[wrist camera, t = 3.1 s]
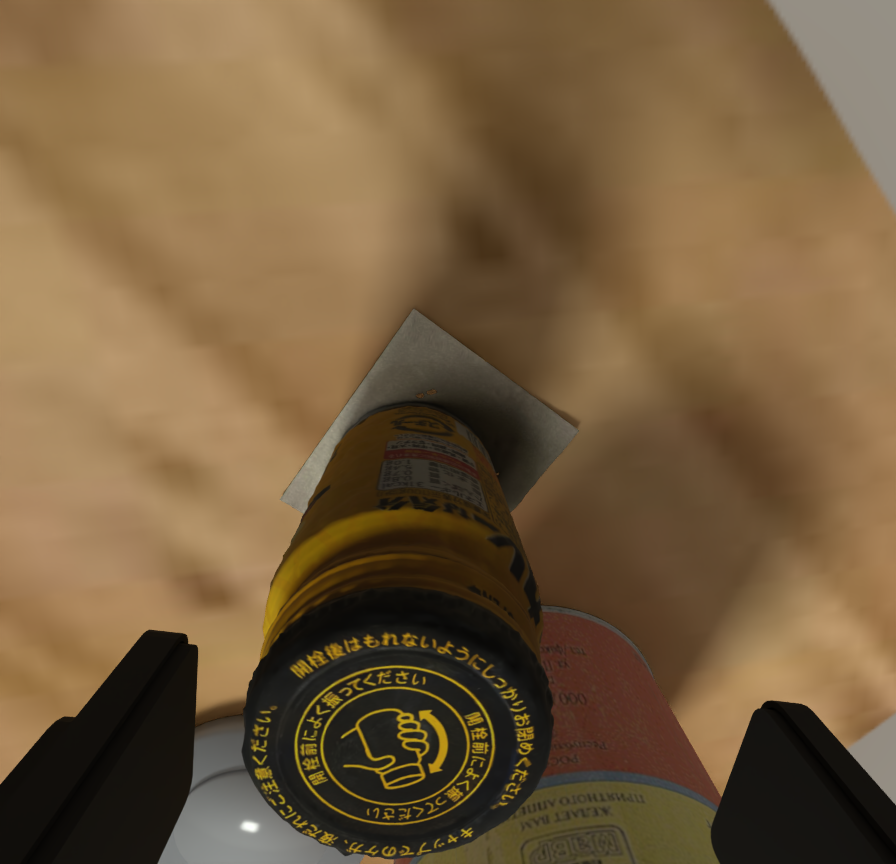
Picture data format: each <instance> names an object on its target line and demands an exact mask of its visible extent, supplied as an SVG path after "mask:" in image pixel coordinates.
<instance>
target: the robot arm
mask: <svg viewBox="0 0 896 864" xmlns="http://www.w3.org/2000/svg"><path fill="white" fill-rule="evenodd" d="M197 667H198V647H197V645H192V644H188V638H187V635H186V634H183V633H174V632H165V631H157V630H148V631H146V632H145V633H144V634H143V635H142V636H141V637H140V638H139V639H138V641H137V642H136V643H135V644H134V646H133V647H132V648H131V649H130V651H129V652H128V653H127V654H126V656H125V657H124V658H123V659H122V660H121V662H120V663H119V664H118V665H117V667H116V668H115V669H114V670H113V672H112V673H111V674H110V675H109V677H108V678H107V679H106V680H105V682H104V683H103V684H102V685H101V686H100V688H99V689H98V690H97V691H96V693H95V694H94V695H93V696H92V698H91V699H90V700H89V701H88V703H87V704H86V705H85V706H84V707H83V709H82V710H81V711H80V712H79V714H78V715H77V716H76V717H65V716H64V717H62V718H61V719H59V720H57V721H56V722H55V723H53V724H52V725H51V726H50V727H49V728H48V729H47V730H46V732H45V733H44V734H43V735H42V736H41V737H40V739H39V740H38V741H37V742H36V743H35V744H34V746H33V747H32V748H31V749H30V750H29V752H28V753H27V754H26V755H25V756H24V757H23V759H22V760H21V761H20V762H19V763H18V764H17V766H16V767H15V768H14V769H13V770H12V772H11V773H10V774H9V775H8V776H7V777H6V779H5V780H4V781H3V782H2V783H1V784H0V864H158V862H159V859H160V857H161V855H162V853H163V851H164V849H165V847H166V844H167V842H168V840H169V838H170V836H171V834H172V832H173V829H174V827H175V825H176V823H177V821H178V819H179V817H180V814H181V812H182V810H183V808H184V806H185V803H186V801H187V798H188V795H189V792H190V788H191V784H192V778H193V759H194V736H195V713H196V690H197ZM711 843H712V847H713V850H714V852H715V855H716V857H717V859H718V861H719V863H720V864H896V805H895V804H894V803H893V802H892V801H891V799H890V798H889V797H888V796H887V795H886V794H885V793H884V791H882V789H881V788H880V787H879V786H878V785H877V784H876V782H875V781H874V780H873V779H872V778H871V777H870V776H869V775H868V773H867V772H866V771H865V770H864V769H863V768H862V767H861V765H860V764H859V763H858V762H857V761H856V760H855V759H854V758H853V756H852V755H851V754H850V753H849V752H848V751H847V750H846V748H845V747H844V746H843V745H842V744H841V743H840V742H839V740H838V739H837V738H836V737H835V736H834V735H833V734H832V733H831V731H830V730H829V729H828V728H827V727H826V726H825V725H824V723H823V722H822V721H821V720H820V719H819V718H818V717H817V716H816V714H815V713H814V712H813V711H812V710H811V709H810V708H808V707H807V706H805V705H803V704H798V703H789V702H781V701H766V702H765V703H764V704H763V705H762V707H761V708H760V709H757V710H755V711H754V713H753V715H752V717H751V720H750V723H749V726H748V728H747V731H746V734H745V736H744V739H743V742H742V744H741V747H740V750H739V753H738V755H737V758H736V761H735V763H734V766H733V769H732V772H731V774H730V777H729V780H728V782H727V785H726V788H725V790H724V793H723V796H722V799H721V801H720V804H719V807H718V809H717V812H716V815H715V817H714V820H713V823H712V826H711Z"/></svg>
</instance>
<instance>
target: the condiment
mask: <svg viewBox="0 0 896 864" xmlns="http://www.w3.org/2000/svg"><path fill="white" fill-rule="evenodd" d="M432 389H435V390H436V391H437V393H435V394H432V395H428V394H427V391H429V390H432ZM420 393H423V394H424V397H423V398H417V397H416V395H417V394H420ZM578 432H579V430H578V429H576V428H575V427H574V426H572V425H571V424H570V423H568V422H567V421H566V420H564V419H562V418H561V417H560V416H559V415H558V414H556V413H555V412H554V411H552V410H551V409H549V408H548V407H547V406H545V405H544V404H543V403H541V402H540V401H539V400H537V399H536V398H535V397H533V396H532V395H530V394H529V393H528V392H526V391H525V390H524V389H523V388H521V387H520V386H519V385H517V384H516V383H514V382H513V381H512V380H510V379H509V378H508V377H506V376H505V375H504V374H502V373H501V372H500V371H498V370H497V369H495V368H494V367H493V366H491V365H490V364H489V363H488V362H485V361H484V359H482V358H481V357H479V356H478V355H476V354H475V353H474V352H472V351H471V350H469V349H468V348H467V347H466V346H464V345H463V344H461V343H460V342H459V341H457V340H456V339H455V338H453V337H452V336H451V335H449V334H448V333H447V332H445V331H444V330H442V329H441V328H440V327H438V326H437V325H436V324H434V323H433V322H432V321H430V320H429V319H427V318H426V317H425V316H423V315H422V314H421V313H419V312H418V311H417V310H415V309H413V310H412V312H411V313H410V315H409V316H408V317H407V319H406V320H405V322H404V323H403V325H402V326H401V327H400V329H399V330H398V332H397V333H396V335H395V336H394V337H393V339H392V340H391V342H390V343H389V344H388V346H387V347H386V349H385V350H384V352H383V353H382V355H381V356H380V357H379V359H378V360H377V362H376V363H375V365H374V366H373V368H372V369H371V370H370V372H369V373H368V374H367V376H366V377H365V379H364V380H363V382H362V383H361V384H360V386H359V387H358V389H357V390H356V392H355V393H354V394H353V396H352V397H351V399H350V400H349V401H348V403H347V404H346V406H345V407H344V409H343V410H342V411H341V413H340V414H339V416H338V417H337V419H336V420H335V421H334V423H333V424H332V426H331V427H330V429H329V430H328V431H327V433H326V434H325V436H324V437H323V438H322V440H321V441H320V443H319V444H318V446H317V447H316V448H315V450H314V451H313V453H312V454H311V456H310V457H309V458H308V460H307V461H306V463H305V464H304V466H303V467H302V468H301V470H300V471H299V473H298V474H297V476H296V477H295V478H294V480H293V481H292V483H291V484H290V486H289V487H288V488H287V490H286V491H285V493H284V494H283V496H282V497H281V499H280V500H281V501H283V502H285V503H287V504H289V505H290V506H292V507H293V508H295V509H297V510H298V511H300V512H302V513H303V514H304V515H303V516H302V519H301V523H300V525H299V527H298V529H297V531H296V533H295V535H294V536H293V538H292V540H291V545H290V546H289V548H288V549H287V551H286V552H285V554H284V555H283V560H282V562H281V564H280V565H279V567H278V569H277V571H276V573H275V575H274V578H273V580H272V581H271V585H270V592H269V596H268V600H267V604H266V611H265V619H264V624H263V633H264V639H265V640H264V643H263V646H262V650H261V654H260V662H259V665H258V667H257V668H256V670H255V671H254V672H253V677H252V680H250V682H249V688H248V691H247V699H246V707H245V708H244V709H243V718H244V728H245V734H244V741H243V746H242V750H241V753H242V757H243V761H244V764H245V768H246V769H247V771H248V773H249V775H250V777H251V779H252V781H253V783H254V785H255V787H256V788H257V790H258V791H259V793H260V794H261V796H262V797H263V798H264V800H265V801H266V803H267V804H268V805H269V806H270V807H271V808H272V809H273V810H274V811H275V812H276V813H277V814H278V815H279V816H280V817H281V819H282V820H284V821H286V822H288V823H289V824H290V825H291V826H292V827H293V828H294V829H295V830H296V831H298V832H299V833H301V834H303V835H305V836H308V837H311V838H313V839H315V840H316V841H318V842H319V843H320V844H322V845H326V846H329V847H333V848H336V849H337V850H338V851H339V852H340V853H341V854H343V855H344V856H349V855H352V854H361V855H368V856H370V857H382V858H384V859H400V858H414V857H419V856H423V855H426V854H429V853H438V852H443V851H446V850H450V849H455V848H457V847H460V846H462V845H465V844H468V843H471V842H473V841H474V840H475V839H477V838H478V837H480V836H481V835H483V834H484V833H486V832H488V831H490V830H491V829H493V828H495V827H496V826H498V825H499V824H501V823H503V822H504V821H506V820H508V819H509V818H510V817H511V816H512V815H513V814H514V813H515V812H516V811H517V810H518V809H519V807H520V806H521V805H522V804H523V803H524V802H525V801H526V800H527V799H528V798H529V797H530V796H531V795H532V794H533V792H534V791H535V789H536V787H537V785H538V784H539V781H540V779H541V777H542V775H543V772H544V771H545V769H546V768H547V763H548V759H549V754H550V750H551V742H552V730H553V726H554V717H553V715H552V713H551V709H552V707H553V697H552V692H551V690H550V688H549V686H548V685H549V680H548V678H547V676H546V673H545V670H544V668H543V667H542V665H541V656H540V644H541V638H542V633H543V627H544V623H543V611H542V608H541V604H540V596H539V590H538V586H537V584H536V581H535V579H534V576H533V572H532V570H531V568H530V565H529V562H528V559H527V556H526V554H525V551H524V549H523V546H522V544H521V540H520V538H519V535H518V532H517V530H516V527H515V525H514V522H513V518H512V516H511V513H510V512H511V511H512V510H514V509H515V508H516V507H517V505H518V504H519V503H520V502H521V501H522V499H523V498H524V496H525V495H526V494H527V493H528V491H529V490H530V489H531V488H532V487H533V486H534V485H535V483H536V482H537V480H538V479H539V478H540V476H541V475H542V474H543V473H544V472H545V471H546V469H547V468H548V467H549V466H550V465H551V464H552V463H553V461H554V460H555V459H556V458H557V457H558V456H559V455H560V454H561V453H562V452H563V450H564V449H565V448H566V446H567V445H568V444H569V443H570V441H571V440H572V439H573V438H574V437H575V435H576V434H577V433H578ZM496 473H499V475H496Z"/></svg>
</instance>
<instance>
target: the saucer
mask: <svg viewBox="0 0 896 864" xmlns="http://www.w3.org/2000/svg"><path fill="white" fill-rule="evenodd" d="M244 734H245V728H244V718H243V715H237V716H231V717H225V718H220V719H217V720H213V721H210V722H206V723H204V724H202V725H199V726H197V727H195V736H194V759H193V778H192V784H191V788H190V792H189V795H188V798H187V801H186V803H185V806H184V808H183V810H182V812H181V814H180V817H179V819H178V821H177V823H176V825H175V827H174V829H173V832H172V834H171V836H170V838H169V840H168V842H167V844H166V847H165V849H164V851H163V853H162V855H161V857H160V859H159V862H158V864H359V863H360V862H361V860H362V859H363V857H364V855H361V854H352V855H349V856H344V855H343V854H341V853H340V852H339V851H338V850H337V849H336V848H333V847H329V846H326V845H322V844H320V843H319V842H318V841H316V840H315V839H313V838H311V837H308V836H305V835H303V834H301V833H299V832H298V831H296V830H295V829H294V828H293V827H292V826H291V825H290V824H289V823H288V822H286V821H284V820H282V819H281V817H280V816H279V815H278V814H277V813H276V812H275V811H274V810H273V809H272V808H271V807H270V806H269V805H268V804H267V803H266V801H265V800H264V798H263V797H262V796H261V794H260V793H259V791H258V790H257V788H256V787H255V785H254V783H253V781H252V779H251V777H250V775H249V773H248V771H247V769H246V768H245V764H244V761H243V757H242V753H241V750H242V746H243V741H244Z"/></svg>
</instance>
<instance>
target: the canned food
mask: <svg viewBox="0 0 896 864" xmlns="http://www.w3.org/2000/svg"><path fill="white" fill-rule="evenodd" d="M541 608H542V611H543V623H544V627H543V633H542V638H541V644H540V656H541V665H542V667H543V668H544V670H545V673H546V676H547V678H548V680H549V685H548V686H549V688H550V690H551V692H552V697H553V707H552V709H551V713H552V715H553V717H554V726H553V730H552V742H551V750H550V754H549V759H548V763H547V768H546V769H545V771H544V772H543V775H542V777H541V779H540V781H539V784H538V785H537V787H536V789H535V791H534V792H533V794H532V795H531V796H530V797H529V798H528V799H527V800H526V801H525V802H524V803H523V804H522V805H521V806H520V807H519V809H518V810H517V811H516V812H515V813H514V814H513V815H512V816H511V817H510V818H509V819H508V820H506V821H504V822H503V823H501V824H499V825H498V826H496V827H495V828H493V829H491V830H490V831H488V832H486V833H484V834H483V835H481V836H480V837H478V838H477V839H475V840H474V841H473V842H471V843H468V844H465V845H462V846H460V847H457V848H455V849H450V850H446V851H443V852H438V853H429V854H426V855H423V856H419V857H414V858H400V859H394V864H720V863H719V861H718V859H717V857H716V855H715V852H714V850H713V847H712V843H711V826H712V823H713V820H714V817H715V815H716V812H717V809H718V807H719V804H720V801H721V799H722V798H721V796H720V794H719V793H718V791H717V789H716V787H715V786H714V784H713V782H712V780H711V779H710V777H709V775H708V773H707V772H706V770H705V768H704V766H703V765H702V763H701V761H700V759H699V757H698V756H697V754H696V752H695V750H694V749H693V747H692V745H691V743H690V742H689V740H688V738H687V736H686V735H685V733H684V731H683V729H682V728H681V726H680V724H679V722H678V721H677V719H676V717H675V715H674V714H673V712H672V710H671V708H670V707H669V705H668V703H667V701H666V700H665V698H664V696H663V694H662V692H661V691H660V689H659V687H658V685H657V684H656V682H655V680H654V677H653V674H652V671H651V669H650V667H649V665H648V663H647V661H646V660H645V658H644V657H643V655H642V654H641V652H640V651H639V649H638V648H637V647H636V646H635V645H634V643H633V642H632V641H631V640H630V639H629V638H628V637H626V636H625V635H624V634H623V633H622V632H620V631H619V630H618V629H616V628H615V627H614V626H612V625H610V624H609V623H607V622H605V621H603V620H601V619H599V618H597V617H595V616H592V615H589V614H587V613H584V612H581V611H577V610H573V609H569V608H562V607H555V606H541Z"/></svg>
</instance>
